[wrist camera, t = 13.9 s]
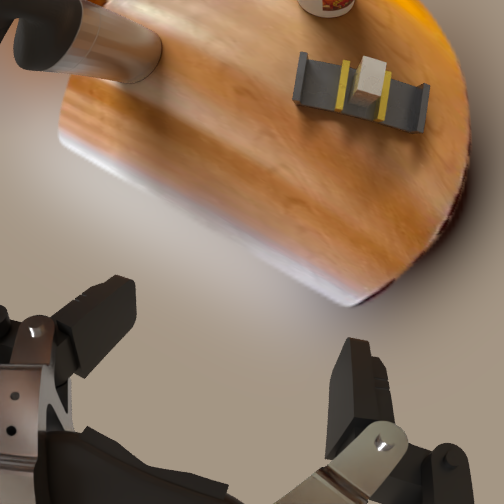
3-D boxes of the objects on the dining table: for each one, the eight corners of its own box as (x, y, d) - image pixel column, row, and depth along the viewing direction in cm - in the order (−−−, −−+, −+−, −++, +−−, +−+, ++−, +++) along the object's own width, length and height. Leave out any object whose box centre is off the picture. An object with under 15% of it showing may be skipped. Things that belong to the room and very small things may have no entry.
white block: (353, 76, 30) (363, 55, 21) (370, 81, 30) (386, 62, 21) (348, 102, 31) (357, 89, 23) (365, 107, 31) (380, 96, 22)
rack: (302, 61, 32) (300, 51, 28) (418, 90, 30) (430, 85, 25) (295, 104, 34) (292, 99, 30) (411, 133, 32) (423, 133, 28)
